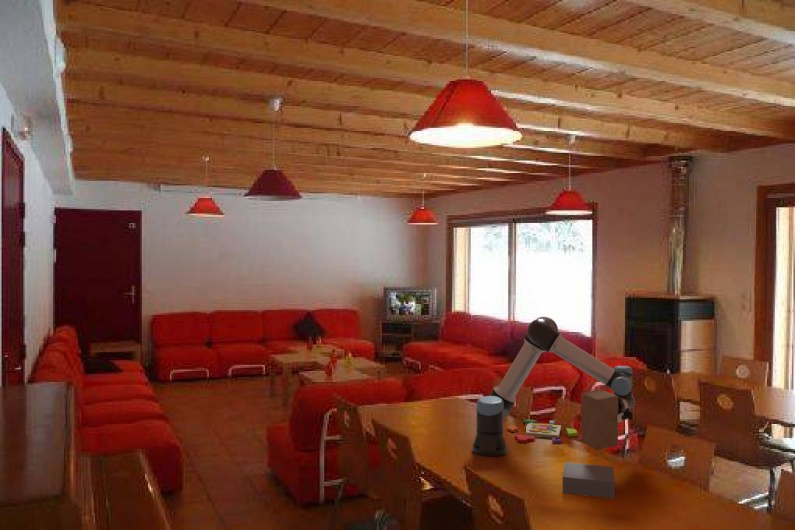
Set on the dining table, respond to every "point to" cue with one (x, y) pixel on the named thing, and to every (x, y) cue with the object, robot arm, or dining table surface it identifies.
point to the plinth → (588, 480)
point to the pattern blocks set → (541, 431)
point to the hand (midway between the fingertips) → (600, 416)
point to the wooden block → (599, 419)
